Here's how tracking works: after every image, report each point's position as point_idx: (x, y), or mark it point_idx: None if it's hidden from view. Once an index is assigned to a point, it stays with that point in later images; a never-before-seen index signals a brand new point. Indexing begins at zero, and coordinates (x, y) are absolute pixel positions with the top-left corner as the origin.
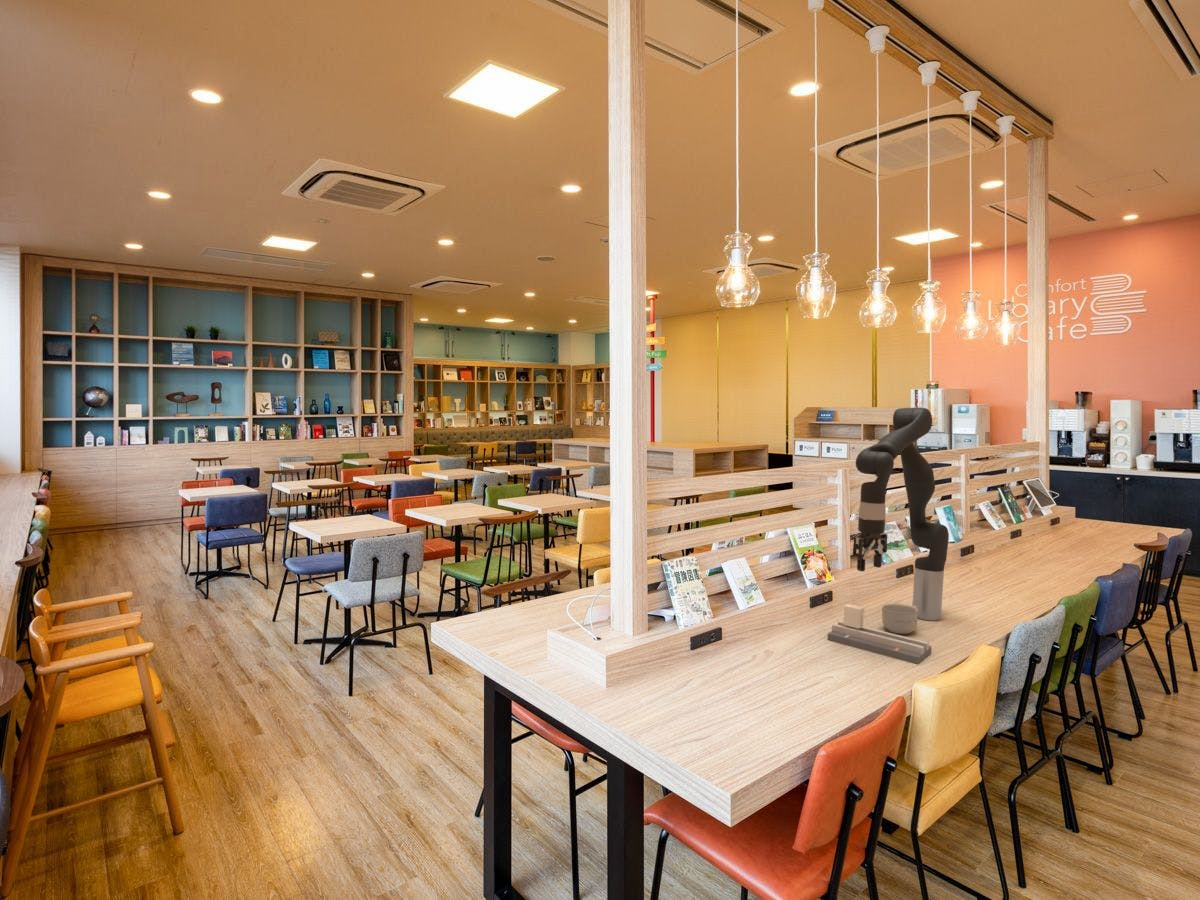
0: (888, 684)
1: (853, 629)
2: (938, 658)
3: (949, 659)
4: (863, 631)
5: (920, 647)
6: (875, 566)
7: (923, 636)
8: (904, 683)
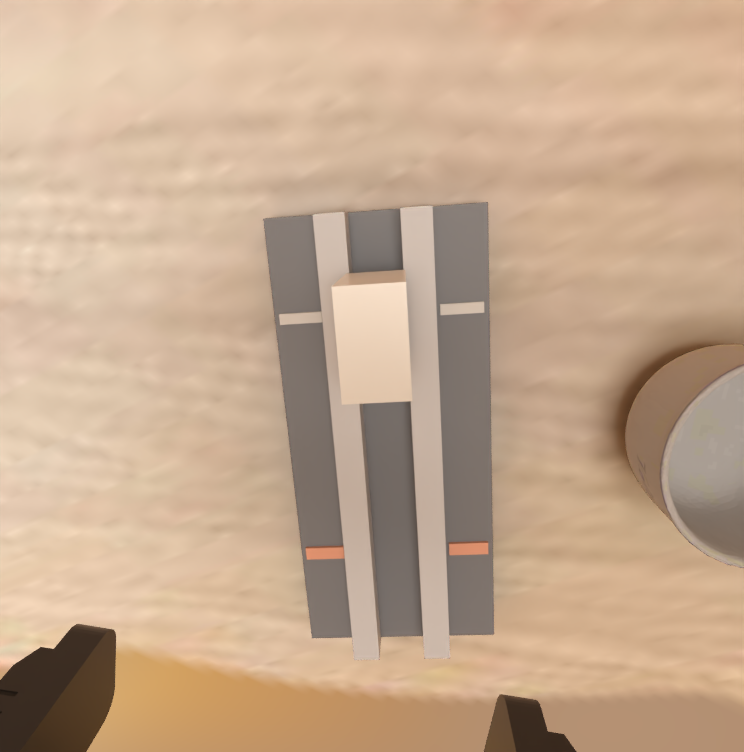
0: (38, 610)
1: None
2: None
3: (470, 678)
4: None
5: (354, 653)
6: (497, 713)
7: None
8: None
